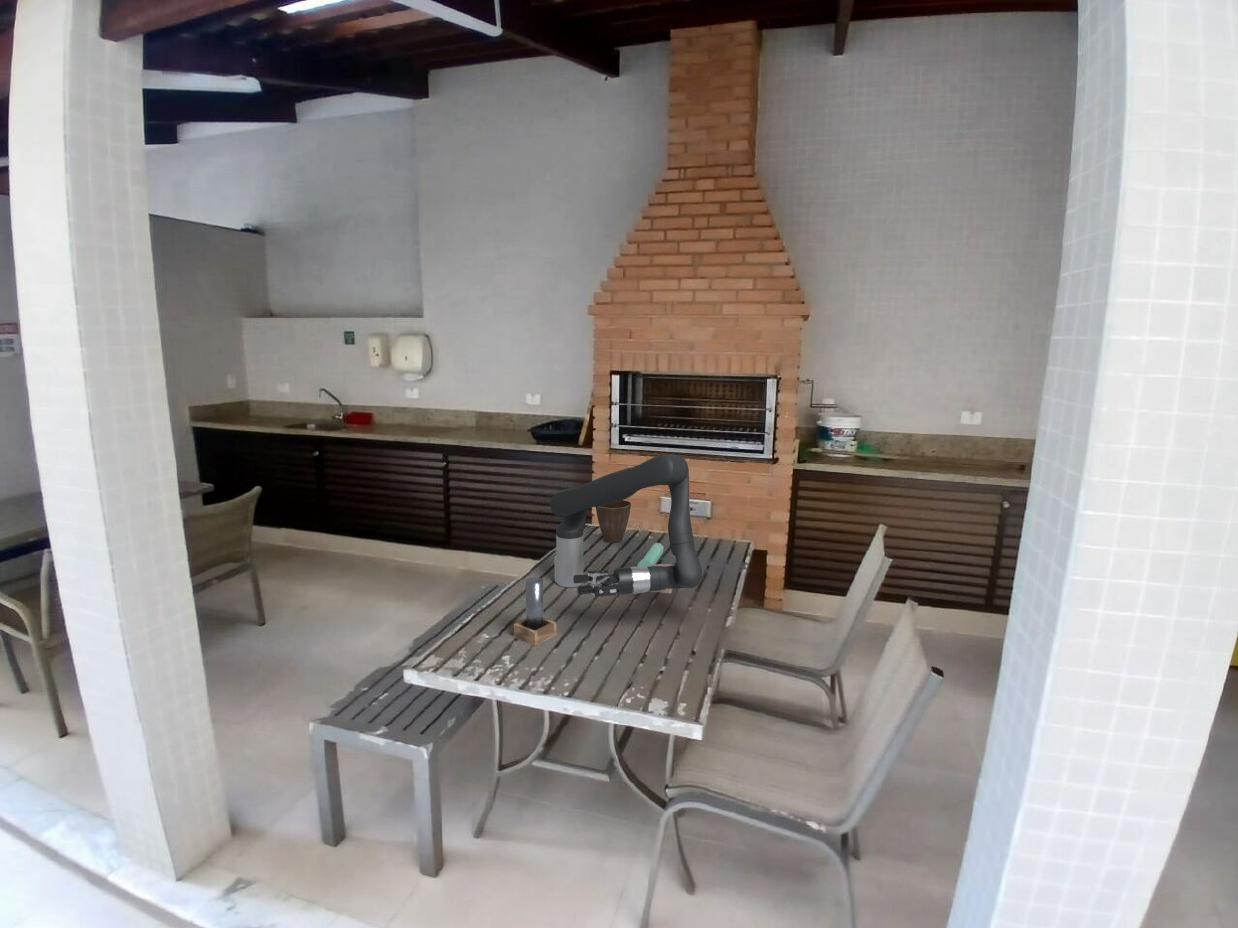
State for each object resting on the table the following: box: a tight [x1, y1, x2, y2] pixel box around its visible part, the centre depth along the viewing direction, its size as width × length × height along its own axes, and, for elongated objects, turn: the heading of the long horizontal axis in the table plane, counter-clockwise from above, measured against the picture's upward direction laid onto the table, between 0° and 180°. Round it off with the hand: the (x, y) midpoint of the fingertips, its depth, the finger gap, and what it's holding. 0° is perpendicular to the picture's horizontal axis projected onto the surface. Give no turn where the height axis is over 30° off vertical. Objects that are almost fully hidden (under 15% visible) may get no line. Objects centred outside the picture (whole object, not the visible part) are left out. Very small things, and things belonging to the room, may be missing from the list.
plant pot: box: [595, 499, 632, 544], centre depth 265 cm, size 15×15×16 cm
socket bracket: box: [512, 617, 559, 647], centre depth 177 cm, size 9×9×4 cm
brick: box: [648, 563, 673, 594], centre depth 218 cm, size 17×8×5 cm, turn 171°
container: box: [637, 542, 665, 567], centre depth 239 cm, size 6×6×25 cm
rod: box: [525, 577, 545, 631], centre depth 175 cm, size 5×5×16 cm
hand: (575, 584), depth 176 cm, fingers open, 8 cm apart
